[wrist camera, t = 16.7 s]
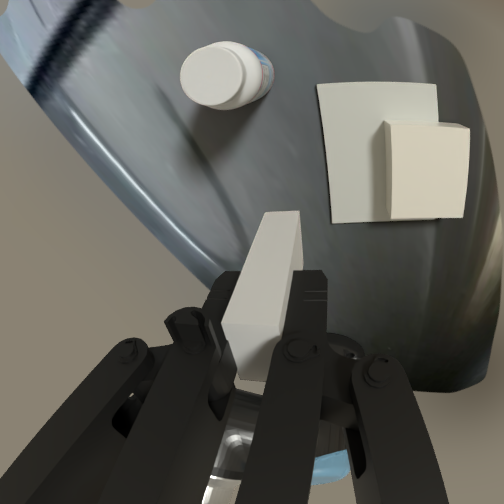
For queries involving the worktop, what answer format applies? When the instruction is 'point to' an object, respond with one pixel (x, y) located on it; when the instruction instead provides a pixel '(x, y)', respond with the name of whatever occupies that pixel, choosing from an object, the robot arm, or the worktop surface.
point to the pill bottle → (226, 75)
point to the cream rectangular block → (426, 169)
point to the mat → (366, 141)
